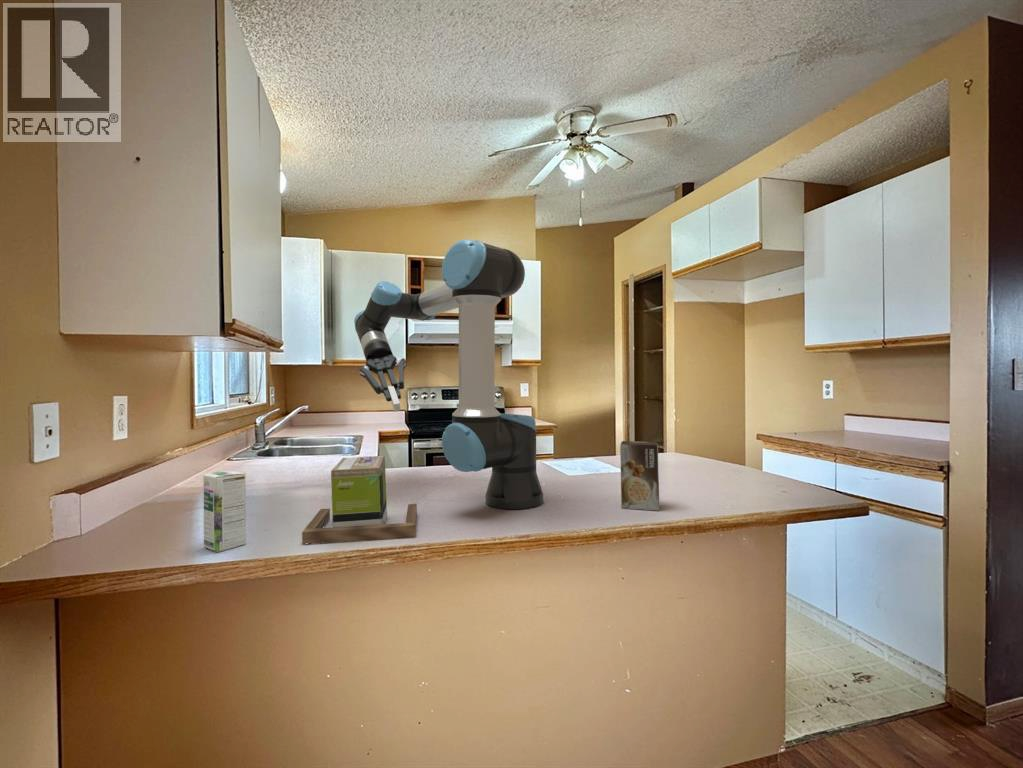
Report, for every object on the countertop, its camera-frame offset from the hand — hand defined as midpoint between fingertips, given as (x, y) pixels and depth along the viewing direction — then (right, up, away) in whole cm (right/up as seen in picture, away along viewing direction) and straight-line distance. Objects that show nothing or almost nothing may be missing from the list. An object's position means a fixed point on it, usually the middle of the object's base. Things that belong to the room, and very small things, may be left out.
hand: (397, 407), depth 126 cm
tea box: (-4, -26, -18) cm, 32 cm away
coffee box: (+61, -25, -3) cm, 66 cm away
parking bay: (-3, -26, -17) cm, 31 cm away
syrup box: (-27, -26, -29) cm, 48 cm away
